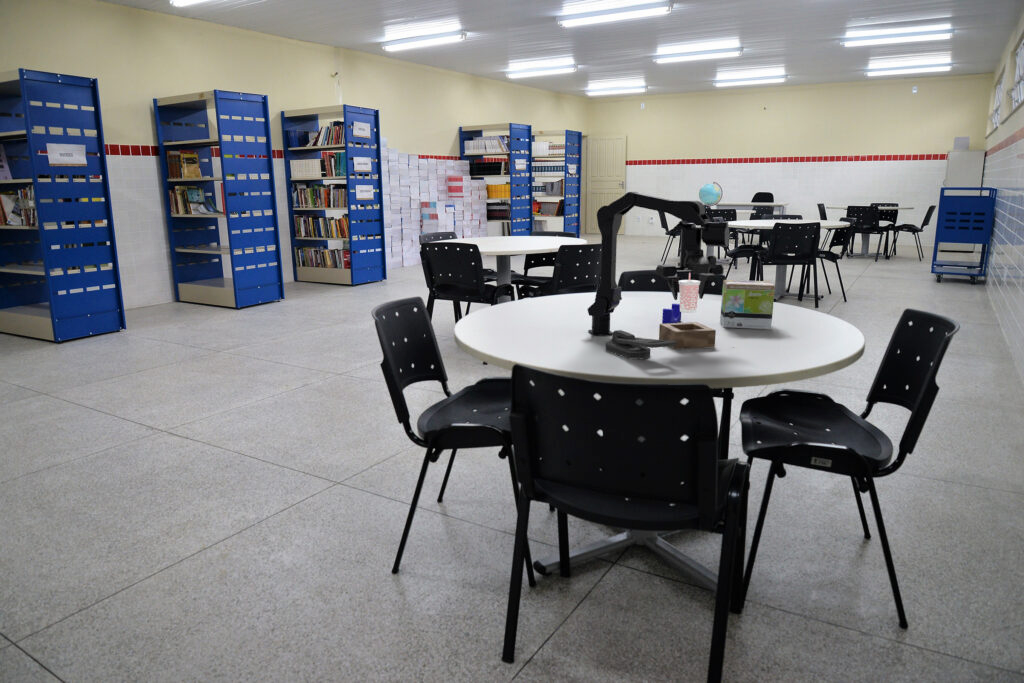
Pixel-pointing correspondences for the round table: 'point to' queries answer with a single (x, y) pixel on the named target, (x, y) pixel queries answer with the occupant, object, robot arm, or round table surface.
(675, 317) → the blue piece
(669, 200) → the robot arm
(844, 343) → the round table surface
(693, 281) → the beverage cup
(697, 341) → the walnut well block
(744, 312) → the tea box
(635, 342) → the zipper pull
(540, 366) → the round table surface
